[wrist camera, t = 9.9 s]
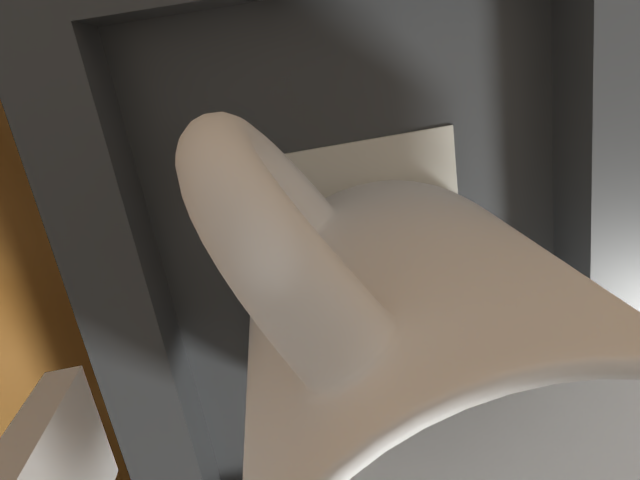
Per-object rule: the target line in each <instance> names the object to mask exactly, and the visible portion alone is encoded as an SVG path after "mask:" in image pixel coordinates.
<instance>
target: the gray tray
mask: <svg viewBox="0 0 640 480" xmlns="http://www.w3.org/2000/svg"><path fill="white" fill-rule="evenodd" d="M0 99H1V102H2V105H3V108H4V111H5V114H6V117H7V120H8V123H9V126H10V129H11V131H12V134H13V137H14V140H15V143H16V146H17V149H18V152H19V155H20V158H21V161H22V164H23V167H24V169H25V172H26V175H27V178H28V181H29V184H30V187H31V190H32V193H33V196H34V199H35V202H36V204H37V207H38V210H39V213H40V216H41V219H42V222H43V225H44V228H45V231H46V234H47V237H48V239H49V242H50V245H51V248H52V251H53V254H54V257H55V260H56V263H57V266H58V269H59V272H60V275H61V277H62V280H63V283H64V286H65V289H66V292H67V295H68V298H69V301H70V304H71V307H72V310H73V312H74V315H75V318H76V321H77V324H78V327H79V330H80V333H81V336H82V339H83V342H84V345H85V347H86V350H87V353H88V356H89V359H90V362H91V365H92V368H93V371H94V374H95V377H96V380H97V382H98V385H99V388H100V391H101V394H102V397H103V400H104V403H105V406H106V409H107V412H108V415H109V418H110V420H111V423H112V426H113V429H114V432H115V435H116V438H117V441H118V444H119V447H120V450H121V453H122V455H123V458H124V461H125V464H126V467H127V470H128V473H129V476H130V479H131V480H242V479H243V458H244V436H245V414H246V392H247V370H248V348H249V327H250V315H249V314H248V312H247V311H246V310H245V308H244V307H243V306H242V304H241V303H240V301H239V300H238V299H237V297H236V296H235V294H234V293H233V291H232V290H231V288H230V287H229V285H228V284H227V282H226V281H225V279H224V278H223V276H222V275H221V273H220V272H219V270H218V269H217V267H216V265H215V264H214V262H213V260H212V258H211V257H210V255H209V253H208V252H207V250H206V248H205V247H204V245H203V243H202V241H201V239H200V237H199V235H198V233H197V231H196V229H195V227H194V225H193V223H192V221H191V219H190V217H189V214H188V211H187V209H186V206H185V204H184V201H183V198H182V195H181V190H180V186H179V181H178V177H177V172H176V167H175V154H176V149H177V145H178V140H179V138H180V136H181V134H182V133H183V131H184V130H185V129H186V127H187V126H188V124H189V123H190V122H191V121H192V120H194V119H196V118H197V117H199V116H201V115H203V114H207V113H214V112H226V113H229V114H232V115H236V116H238V117H241V118H242V119H244V120H245V121H247V122H248V123H250V124H251V125H252V126H253V127H255V128H256V129H257V130H258V131H260V132H261V133H262V134H263V135H265V136H266V137H267V138H268V139H269V140H270V141H271V142H272V143H274V144H275V145H276V146H277V147H278V148H279V149H280V150H281V151H282V152H283V153H284V154H285V155H286V156H287V157H288V158H289V159H290V160H291V161H292V162H293V163H294V164H295V165H296V167H297V168H298V169H299V170H300V171H301V172H302V173H303V174H304V175H305V176H306V177H307V178H308V180H309V181H310V182H311V183H312V184H313V185H314V186H315V187H316V188H317V190H318V191H319V192H320V193H321V194H322V195H323V196H324V198H327V197H329V196H331V195H333V194H335V193H337V192H339V191H342V190H345V189H348V188H351V187H354V186H356V185H361V184H365V183H370V182H375V181H386V180H404V181H415V182H421V183H426V184H431V185H435V186H438V187H441V188H444V189H447V190H450V191H453V192H455V193H457V194H459V195H461V196H463V197H465V198H467V199H469V200H471V201H473V202H474V203H476V204H478V205H479V206H481V207H483V208H484V209H486V210H487V211H489V212H490V213H492V214H493V215H495V216H496V217H498V218H499V219H501V220H502V221H504V222H505V223H507V224H508V225H510V226H511V227H513V228H514V229H516V230H517V231H519V232H520V233H522V234H523V235H525V236H526V237H528V238H529V239H531V240H532V241H534V242H535V243H537V244H538V245H540V246H541V247H543V248H544V249H546V250H547V251H549V252H550V253H552V254H553V255H555V256H556V257H558V258H559V259H561V260H562V261H564V262H565V263H567V264H568V265H570V266H571V267H573V268H574V269H576V270H577V271H579V272H580V273H582V274H583V275H585V276H586V277H588V278H589V279H591V280H592V281H594V282H595V283H597V284H598V285H600V286H601V287H603V288H604V289H606V290H607V291H609V292H610V293H612V294H613V295H615V296H616V297H618V298H619V299H621V300H622V301H624V302H625V303H627V304H628V305H630V306H631V307H633V308H634V309H636V310H638V311H639V312H640V0H0Z"/></svg>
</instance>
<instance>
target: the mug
mask: <svg viewBox="0 0 640 480" xmlns="http://www.w3.org/2000/svg"><path fill="white" fill-rule="evenodd" d="M175 167H176V172H177V177H178V181H179V186H180V190H181V195H182V198H183V201H184V204H185V206H186V209H187V211H188V214H189V217H190V219H191V221H192V223H193V225H194V227H195V229H196V231H197V233H198V235H199V237H200V239H201V241H202V243H203V245H204V247H205V248H206V250H207V252H208V253H209V255H210V257H211V258H212V260H213V262H214V264H215V265H216V267H217V269H218V270H219V272H220V273H221V275H222V276H223V278H224V279H225V281H226V282H227V284H228V285H229V287H230V288H231V290H232V291H233V293H234V294H235V296H236V297H237V299H238V300H239V301H240V303H241V304H242V306H243V307H244V308H245V310H246V311H247V312H248V314H249V315H250V327H249V348H248V370H247V392H246V414H245V436H244V458H243V479H242V480H640V312H639V311H638V310H636V309H634V308H633V307H631V306H630V305H628V304H627V303H625V302H624V301H622V300H621V299H619V298H618V297H616V296H615V295H613V294H612V293H610V292H609V291H607V290H606V289H604V288H603V287H601V286H600V285H598V284H597V283H595V282H594V281H592V280H591V279H589V278H588V277H586V276H585V275H583V274H582V273H580V272H579V271H577V270H576V269H574V268H573V267H571V266H570V265H568V264H567V263H565V262H564V261H562V260H561V259H559V258H558V257H556V256H555V255H553V254H552V253H550V252H549V251H547V250H546V249H544V248H543V247H541V246H540V245H538V244H537V243H535V242H534V241H532V240H531V239H529V238H528V237H526V236H525V235H523V234H522V233H520V232H519V231H517V230H516V229H514V228H513V227H511V226H510V225H508V224H507V223H505V222H504V221H502V220H501V219H499V218H498V217H496V216H495V215H493V214H492V213H490V212H489V211H487V210H486V209H484V208H483V207H481V206H479V205H478V204H476V203H474V202H473V201H471V200H469V199H467V198H465V197H463V196H461V195H459V194H457V193H455V192H453V191H450V190H447V189H444V188H441V187H438V186H435V185H431V184H426V183H421V182H415V181H404V180H386V181H375V182H370V183H365V184H361V185H356V186H354V187H351V188H348V189H345V190H342V191H339V192H337V193H335V194H333V195H331V196H329V197H327V198H324V196H323V195H322V194H321V193H320V192H319V191H318V190H317V188H316V187H315V186H314V185H313V184H312V183H311V182H310V181H309V180H308V178H307V177H306V176H305V175H304V174H303V173H302V172H301V171H300V170H299V169H298V168H297V167H296V165H295V164H294V163H293V162H292V161H291V160H290V159H289V158H288V157H287V156H286V155H285V154H284V153H283V152H282V151H281V150H280V149H279V148H278V147H277V146H276V145H275V144H274V143H272V142H271V141H270V140H269V139H268V138H267V137H266V136H265V135H263V134H262V133H261V132H260V131H258V130H257V129H256V128H255V127H253V126H252V125H251V124H250V123H248V122H247V121H245V120H244V119H242V118H241V117H238V116H236V115H232V114H229V113H226V112H214V113H207V114H203V115H201V116H199V117H197V118H196V119H194V120H192V121H191V122H190V123H189V124H188V126H187V127H186V129H185V130H184V131H183V133H182V134H181V136H180V138H179V140H178V145H177V149H176V154H175Z"/></svg>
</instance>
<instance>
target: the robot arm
mask: <svg viewBox="0 0 640 480" xmlns="http://www.w3.org/2000/svg"><path fill="white" fill-rule="evenodd" d="M117 473H118V467H117V465H116V462H115V459H114V456H113V453H112V450H111V447H110V445H109V442H108V439H107V436H106V433H105V430H104V427H103V424H102V422H101V419H100V416H99V413H98V410H97V407H96V404H95V402H94V399H93V396H92V393H91V390H90V387H89V384H88V381H87V379H86V376H85V373H84V370H83V367H82V365H81V366H76V367H71V368H66V369H61V370H56V371H50V372H45V373H44V374H43V376H42V377H41V379H40V380H39V382H38V383H37V385H36V386H35V388H34V389H33V391H32V392H31V394H30V395H29V397H28V398H27V399H26V401H25V402H24V404H23V405H22V407H21V408H20V410H19V411H18V413H17V414H16V416H15V417H14V419H13V420H12V422H11V423H10V425H9V426H8V427H7V429H6V430H5V432H4V433H3V435H2V436H1V438H0V480H115V479H116V476H117Z"/></svg>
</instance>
